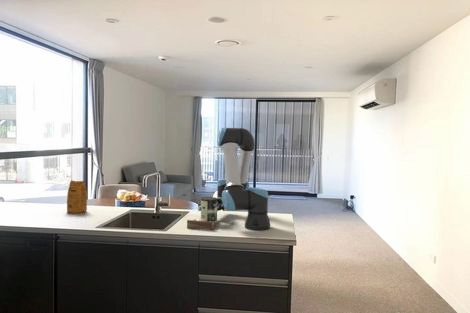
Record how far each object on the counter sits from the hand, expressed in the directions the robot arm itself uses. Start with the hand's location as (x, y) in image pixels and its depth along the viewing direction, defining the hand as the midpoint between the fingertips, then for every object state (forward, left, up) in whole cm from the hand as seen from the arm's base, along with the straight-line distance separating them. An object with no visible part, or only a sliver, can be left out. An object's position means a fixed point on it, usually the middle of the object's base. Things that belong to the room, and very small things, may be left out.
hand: (206, 209), depth 214 cm
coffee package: (+76, +63, -9) cm, 99 cm away
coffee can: (+3, -3, -8) cm, 9 cm away
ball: (-6, +6, -7) cm, 11 cm away
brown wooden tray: (-4, +5, -9) cm, 11 cm away
